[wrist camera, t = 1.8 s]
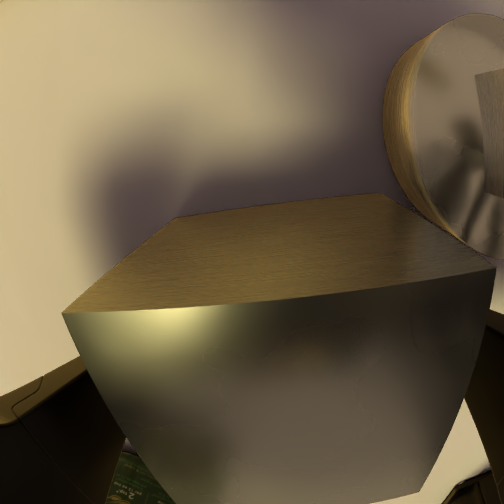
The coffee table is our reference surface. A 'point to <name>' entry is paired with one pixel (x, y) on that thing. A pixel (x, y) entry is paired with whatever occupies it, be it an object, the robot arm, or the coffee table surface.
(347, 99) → the coffee table surface
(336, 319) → the brushed metal cube
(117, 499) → the coffee jar
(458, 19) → the ratchet
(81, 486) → the robot arm
